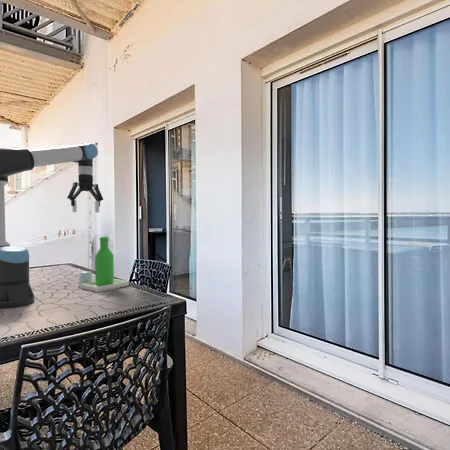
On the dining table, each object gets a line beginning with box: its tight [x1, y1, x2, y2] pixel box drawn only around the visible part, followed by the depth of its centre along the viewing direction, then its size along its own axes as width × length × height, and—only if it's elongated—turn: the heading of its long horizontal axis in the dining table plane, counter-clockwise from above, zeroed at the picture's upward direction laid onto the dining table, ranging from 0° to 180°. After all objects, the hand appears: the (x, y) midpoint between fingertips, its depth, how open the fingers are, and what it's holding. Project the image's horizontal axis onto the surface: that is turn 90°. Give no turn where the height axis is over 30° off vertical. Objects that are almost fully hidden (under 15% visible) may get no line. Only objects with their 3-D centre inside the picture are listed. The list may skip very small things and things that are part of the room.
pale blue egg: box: [78, 271, 93, 287], centre depth 171 cm, size 6×6×7 cm
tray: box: [79, 278, 130, 293], centre depth 166 cm, size 18×15×2 cm
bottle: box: [94, 236, 115, 287], centre depth 166 cm, size 9×9×25 cm
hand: (86, 212), depth 182 cm, fingers open, 13 cm apart
